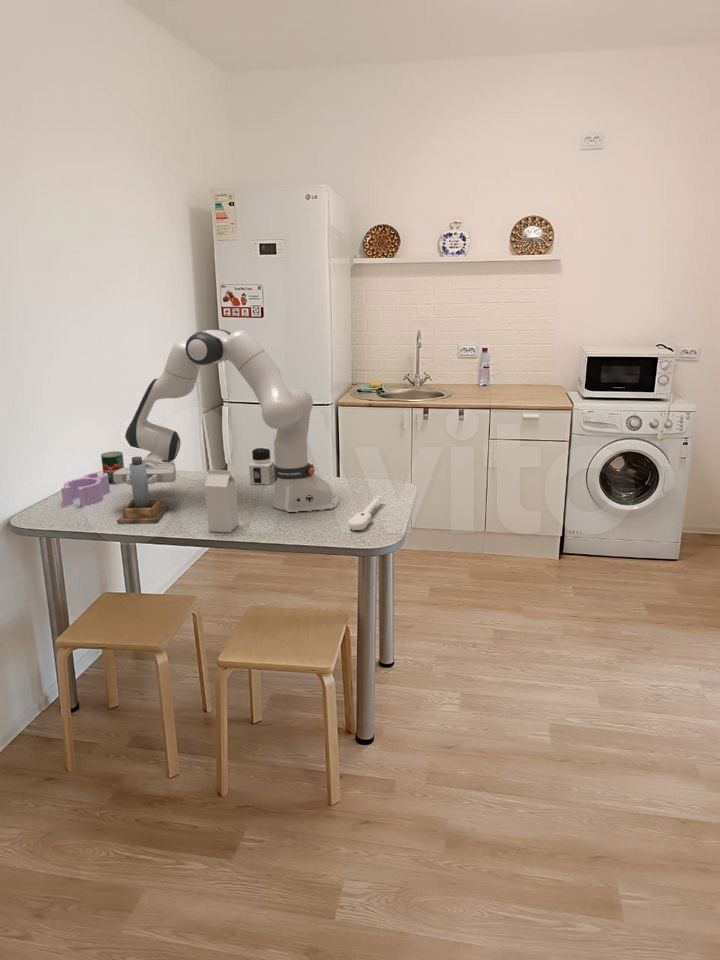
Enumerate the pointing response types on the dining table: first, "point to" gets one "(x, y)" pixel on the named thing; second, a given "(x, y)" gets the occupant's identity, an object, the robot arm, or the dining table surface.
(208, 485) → the milk carton
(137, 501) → the bottle
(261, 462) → the container
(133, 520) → the carton stand
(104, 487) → the clip
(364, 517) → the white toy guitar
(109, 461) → the canned tomato
